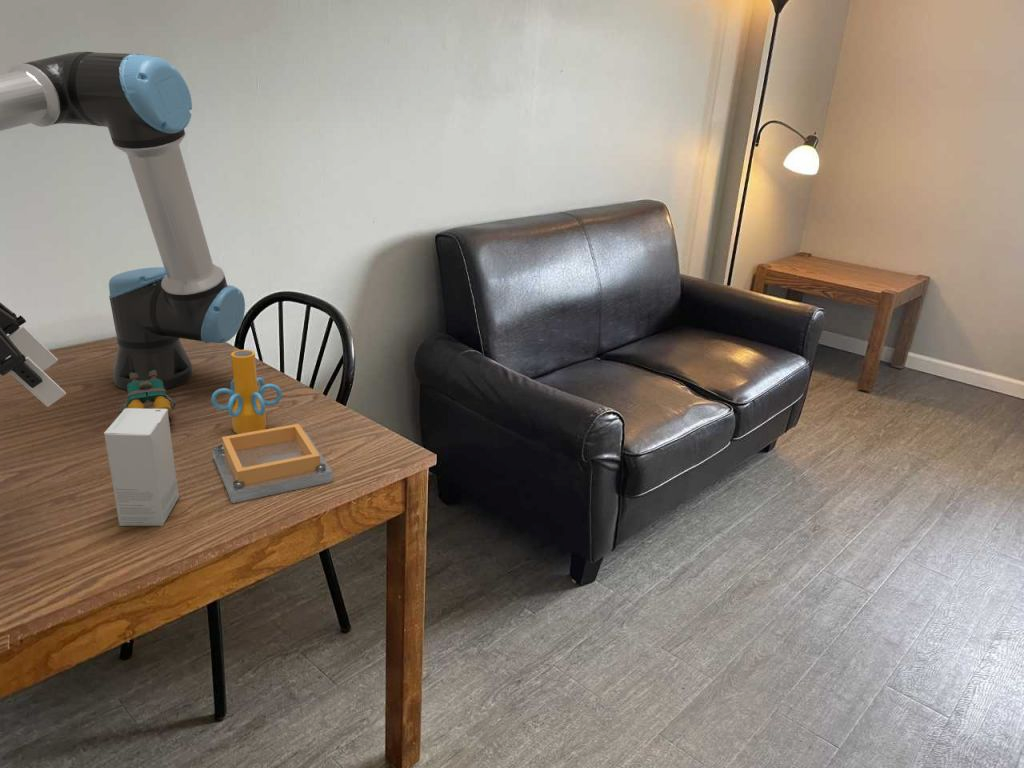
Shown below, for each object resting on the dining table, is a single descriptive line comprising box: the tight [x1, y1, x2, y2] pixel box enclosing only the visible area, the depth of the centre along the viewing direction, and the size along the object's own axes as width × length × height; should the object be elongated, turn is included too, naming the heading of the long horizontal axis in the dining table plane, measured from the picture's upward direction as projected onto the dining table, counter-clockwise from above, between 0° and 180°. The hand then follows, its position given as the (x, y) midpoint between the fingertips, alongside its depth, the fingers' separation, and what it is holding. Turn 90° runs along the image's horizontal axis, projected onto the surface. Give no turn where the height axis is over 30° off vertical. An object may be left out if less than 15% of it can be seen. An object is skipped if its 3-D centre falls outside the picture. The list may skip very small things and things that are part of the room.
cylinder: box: [210, 349, 283, 434], centre depth 138 cm, size 12×10×15 cm
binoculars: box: [119, 370, 177, 425], centre depth 139 cm, size 9×9×10 cm
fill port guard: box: [221, 423, 321, 485], centre depth 126 cm, size 13×13×2 cm
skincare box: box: [103, 407, 180, 527], centre depth 111 cm, size 8×7×16 cm
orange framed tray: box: [212, 430, 334, 504], centre depth 126 cm, size 16×16×3 cm
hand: (53, 382), depth 104 cm, fingers open, 13 cm apart
